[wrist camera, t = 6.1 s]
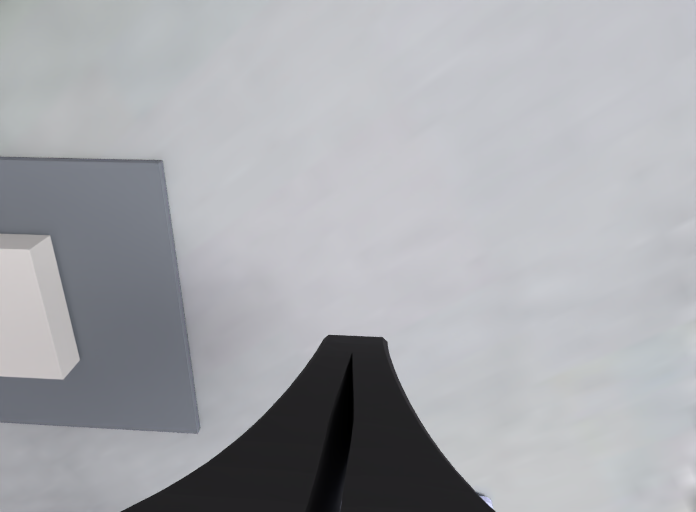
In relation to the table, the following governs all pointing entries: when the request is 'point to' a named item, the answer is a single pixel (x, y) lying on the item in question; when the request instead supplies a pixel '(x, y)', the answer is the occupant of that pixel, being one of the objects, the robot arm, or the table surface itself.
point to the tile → (33, 311)
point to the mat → (105, 294)
